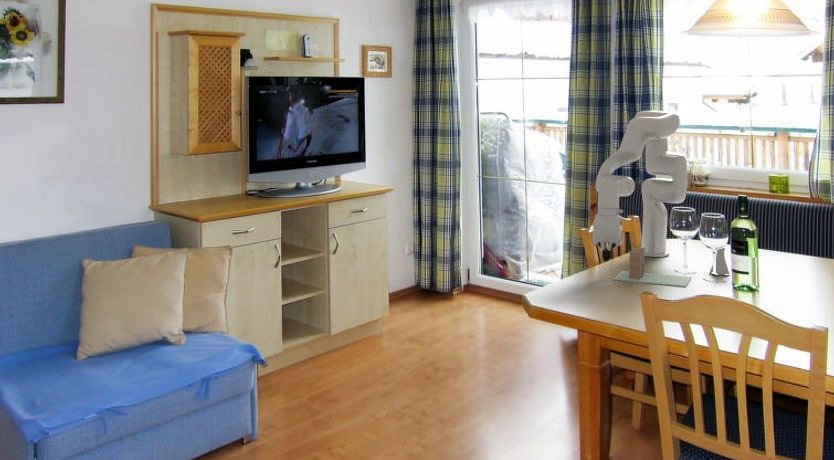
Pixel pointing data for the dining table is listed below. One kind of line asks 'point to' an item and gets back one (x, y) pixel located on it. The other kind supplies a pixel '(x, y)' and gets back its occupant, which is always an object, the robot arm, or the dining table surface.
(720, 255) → the flask
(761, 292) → the dining table surface
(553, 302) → the dining table surface
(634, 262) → the walnut slab
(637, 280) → the sage mat
